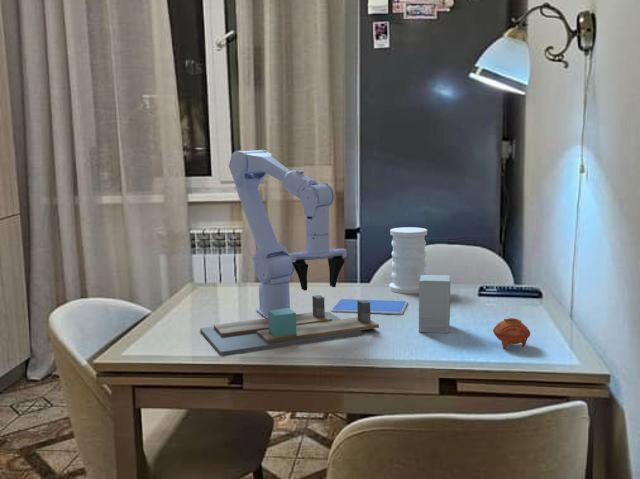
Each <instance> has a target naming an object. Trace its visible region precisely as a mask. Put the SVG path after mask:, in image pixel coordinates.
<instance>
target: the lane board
mask: <svg viewBox="0 0 640 479" xmlns="http://www.w3.org/2000/svg"><path fill="white" fill-rule="evenodd" d="M325 315H327V316H328V317H330V318H332V321H334V320H342V319H341V318H340V317H338V316H336V315H335V314H333V313H332V312H331V311H325ZM199 330H200V331H199V332H200V333H201V334H202V335H203V336H204V337H205V339H207V341H208V343H210V344H211V346H212V347H213V348H214V349H215V350H216V351H217V353H218V354H219V355H220V356H226V355H234V354H241V353H247V352H254V351H262V350H269V349H274V348H281V347H288V346H294V345H302V344H310V343H317V342H323V341H329V340H337V339H343V338H350V337H358V336H362V335H363V331H362V330H360V331H353V332H346V333H339V334H331V335H324V336H317V337H310V338H303V339H296V340H289V341H282V342H275V343H266V342H265V341H264V340H263V339H262V338H261V337H260V336H258V335H257V332H255V333H248V334H240V335H233V336H226V337H222V336H221V335H220V334H219V333H218V332H217V331H216V330H215V329H214V326H209V327H200V328H199Z"/></svg>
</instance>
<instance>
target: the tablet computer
mask: <svg viewBox="0 0 640 479" xmlns="http://www.w3.org/2000/svg"><path fill="white" fill-rule="evenodd" d="M358 300H359V299H351V298H350V299H348V298H347V299H346V298H342V299H339V300H338V301H337V302H336V303H335V304H334V306H332V307H331V309H330V313H345V314H346V313H348V314H349V313H351V314H358V309H357V301H358ZM365 300H366V301H368V302H370V315H373V314H374V315H376V314H377V315H395V316H396V315H397V316H402V315H403V314H404V312H405V310H406V308H407V306H408V304H409V303H408V301H406V300H381V299H379V300H377V299H375V300H374V299H365Z"/></svg>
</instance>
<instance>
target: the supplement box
mask: <svg viewBox="0 0 640 479" xmlns="http://www.w3.org/2000/svg"><path fill="white" fill-rule="evenodd" d="M450 322H451V275H449V274H448V275H447V274H442V275H441V274H426V275H421V276H420V280H419V293H418V332H419V333H432V334H434V333H435V334H450V324H451V323H450Z"/></svg>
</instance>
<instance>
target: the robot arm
mask: <svg viewBox="0 0 640 479" xmlns="http://www.w3.org/2000/svg"><path fill="white" fill-rule="evenodd" d="M228 168H229V171H230V174H231V176H232V179H233V181H234V184H235V189H236V192H237V195H238V197H239V201H240V203H241V207H242V209H243V211H244V214H245V218H246V219H247V222H248V223H247V224H248V226H249V227H250V230H251V234H252V237H253V239H254V242H255V245H256V247H257V250H256V251H255V253H254V255H253V257H252V261H253V264H254V273H255V276H256V278H257V279H258V281H259V283H260V284H259V286H258V295H259V296H258V298H259V299H258V300H259V307H258V308H256V310H255V311H256V312H258V313H259V314H261V315H262V316H263V317H264V318H269V316H268V310H276V309H284V308H289V309H291V304H290V303H291V302H290V301H291V300H290V298H291V296H290V294H291V293H290V281H291V280H292V276H293V275H294V273H295V272H296V275H297V277H298V279H299V283H300V289H301V290H302V291H308V269H309V264H308V263H307V262H306V261H314V260H324V259H327V261H328V269H329V281H328V282H329V286H330V287H332V288H336V286H337V281H338V277H339V274H340V272H341V270H342V267H343V266H344V264H345V258H347V255H348V254H347V249H346V248H330V246H331V245H330V244H331V243H330V240H331V239H330V206H331V205H332V204H333V202H334V200H335V194H334V193H335V192H334V189H333V188H332V187H331V186H330V185H329V184H328V183H327V182H324V183H323V182H322V183H318V182H317V180H316V179H315V178H311V177H309V176H307V175H306V174H304V171H303V170H302V169H293V170H291V169H289V168H288V167H286V166H285V165H283V164H282V163H281V162H279V161H278V160H277V159H276V158H275V157H273V154H272V153H271V152H268V151H267V150H265V149H259V150H258V149H257V150H235V151H234V152H233V153H232V154H231V156H230V160H229V163H228ZM267 175H269V176H271V177H273V178H275V179H276V180H278V181H280V182H281V183H283V184H282V185H283V189H284V190H286V191H287V192H288V193H290V194H291V195H292V196H294V197H295V198H297V199H299V201H300V203H301V206H302V208H303V214H304V216H305V245H306V246H305V247H306V250H303V251H297V252H296V251H295V252H291V253H289V251H288V248H287V247H286V246H284V245H283V244H281V243H279V242H278V240H277V236H276V234H275V231H274V230H273V229H274V228H273V227H272V224H271V221H270V219H269V218H270V217H269V215H268V214H267V210H266V208H265V205H264V202H263V200H262V197H261V194H260V192H259V186H260V185H261V184H262V182H263V181H264V179H265V177H266V176H267Z"/></svg>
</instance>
